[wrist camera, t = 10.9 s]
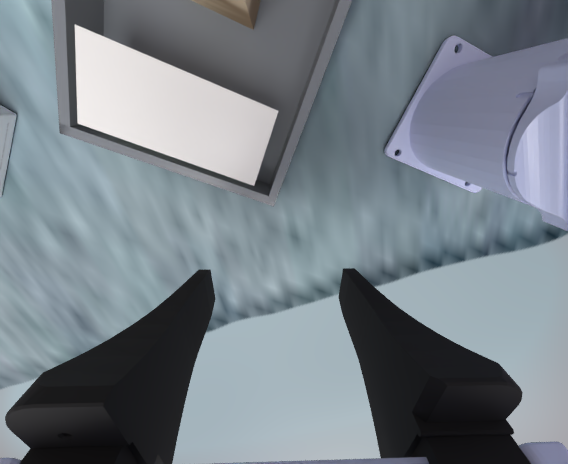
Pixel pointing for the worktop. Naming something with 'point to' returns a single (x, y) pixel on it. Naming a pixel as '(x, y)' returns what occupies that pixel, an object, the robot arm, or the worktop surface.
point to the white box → (169, 109)
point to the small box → (5, 140)
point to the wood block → (234, 9)
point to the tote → (211, 67)
